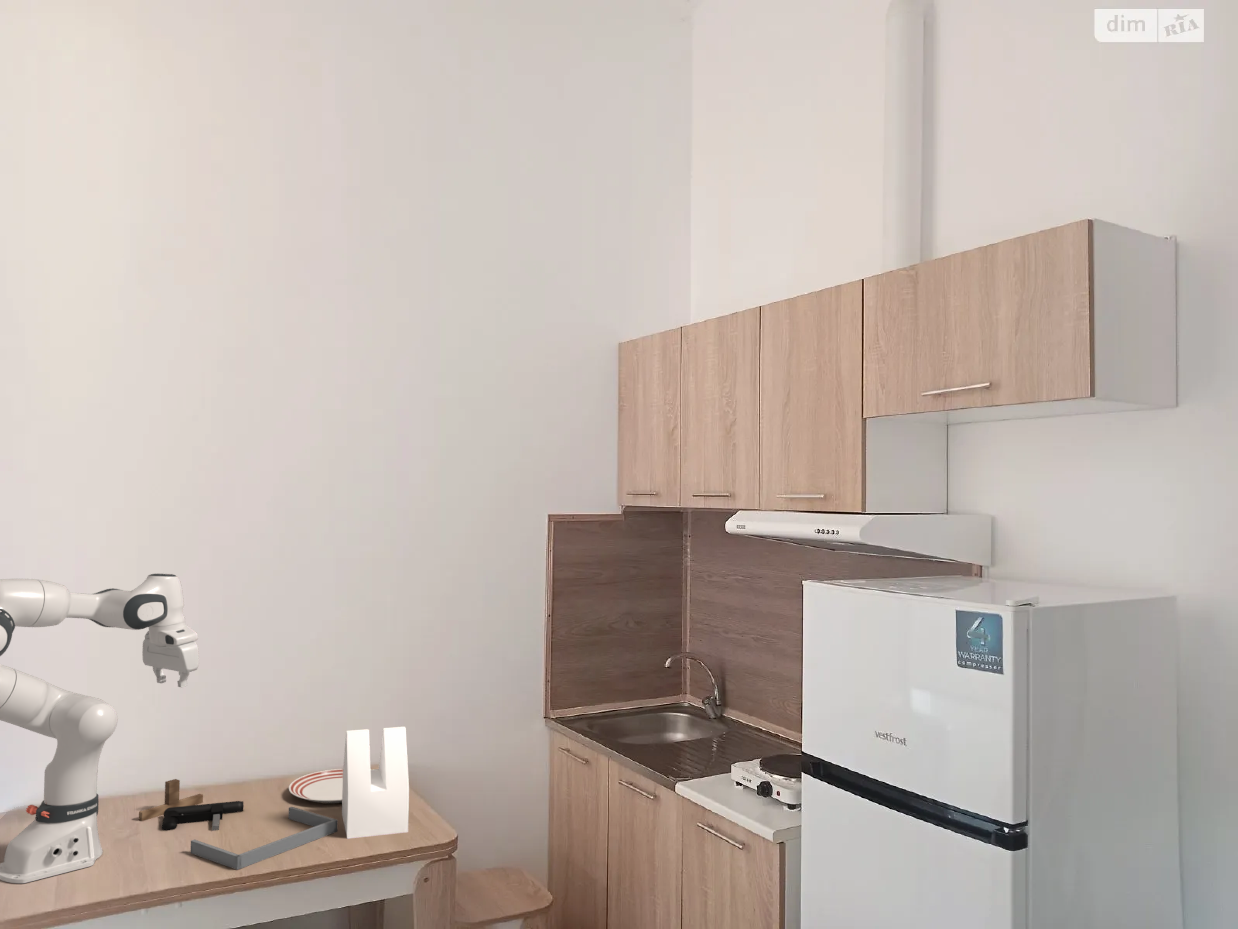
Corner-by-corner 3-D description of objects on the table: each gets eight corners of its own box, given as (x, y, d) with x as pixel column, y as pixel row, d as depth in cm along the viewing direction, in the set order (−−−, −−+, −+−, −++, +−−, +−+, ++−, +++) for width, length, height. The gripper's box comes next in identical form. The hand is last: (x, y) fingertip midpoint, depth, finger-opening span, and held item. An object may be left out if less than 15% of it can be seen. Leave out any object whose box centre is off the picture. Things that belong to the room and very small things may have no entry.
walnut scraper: (142, 822, 252) (143, 790, 253) (138, 821, 253) (139, 789, 254) (203, 803, 268) (204, 773, 268) (199, 802, 269) (199, 772, 269)
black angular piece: (243, 820, 249) (243, 797, 264) (159, 828, 242) (164, 805, 257) (243, 832, 249) (243, 809, 264) (158, 841, 242) (164, 817, 257)
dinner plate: (387, 805, 269) (387, 793, 269) (284, 812, 261) (285, 800, 261) (384, 776, 295) (385, 766, 295) (291, 782, 288) (292, 771, 288)
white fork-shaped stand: (341, 814, 261) (344, 723, 261) (398, 808, 266) (400, 719, 266) (347, 839, 243) (349, 741, 243) (408, 832, 248) (410, 736, 248)
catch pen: (237, 870, 222) (237, 857, 222) (190, 853, 231) (190, 840, 232) (337, 831, 247) (337, 820, 247) (291, 817, 257) (291, 806, 257)
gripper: (133, 632, 254) (138, 683, 254) (179, 640, 243) (183, 693, 243) (156, 627, 259) (160, 677, 260) (201, 634, 248) (205, 686, 249)
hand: (172, 684), depth 252 cm, fingers open, 8 cm apart
